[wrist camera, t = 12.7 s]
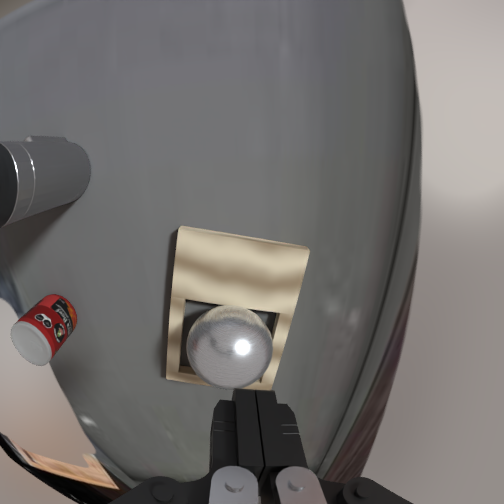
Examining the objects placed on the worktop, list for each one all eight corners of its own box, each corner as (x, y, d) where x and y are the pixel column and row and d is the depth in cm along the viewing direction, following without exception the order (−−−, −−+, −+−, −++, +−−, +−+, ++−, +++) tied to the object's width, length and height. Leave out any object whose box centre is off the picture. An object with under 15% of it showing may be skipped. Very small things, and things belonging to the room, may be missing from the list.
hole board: (181, 225, 41) (178, 228, 39) (306, 246, 43) (310, 250, 41) (167, 371, 49) (166, 378, 47) (268, 384, 51) (270, 392, 49)
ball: (169, 304, 37) (169, 368, 42) (234, 359, 31) (223, 420, 35) (235, 281, 46) (226, 340, 51) (299, 319, 39) (280, 379, 44)
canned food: (83, 332, 46) (56, 368, 35) (49, 330, 45) (21, 363, 35) (71, 292, 43) (39, 324, 33) (37, 292, 43) (3, 321, 32)
